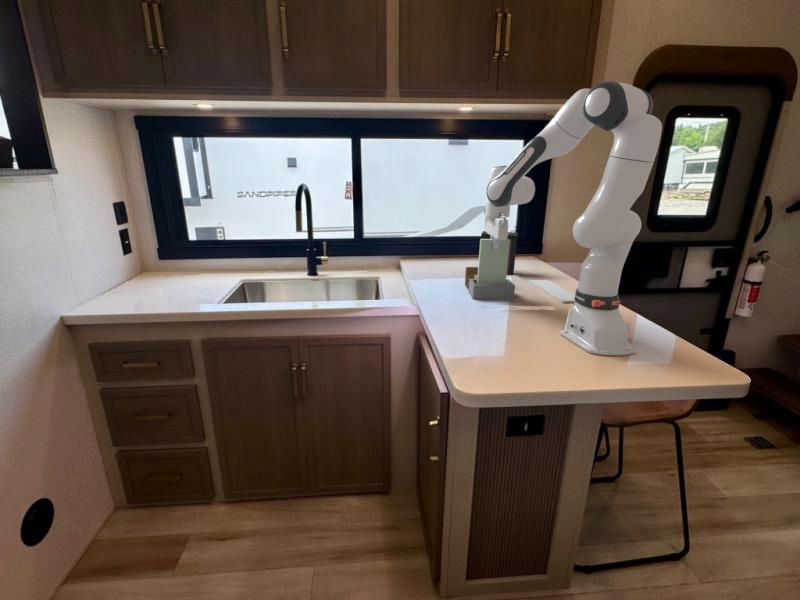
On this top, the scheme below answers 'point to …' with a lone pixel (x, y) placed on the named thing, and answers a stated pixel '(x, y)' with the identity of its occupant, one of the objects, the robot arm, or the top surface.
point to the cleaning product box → (512, 250)
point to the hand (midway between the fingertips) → (494, 248)
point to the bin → (491, 290)
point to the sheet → (493, 262)
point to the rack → (470, 275)
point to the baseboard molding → (554, 290)
